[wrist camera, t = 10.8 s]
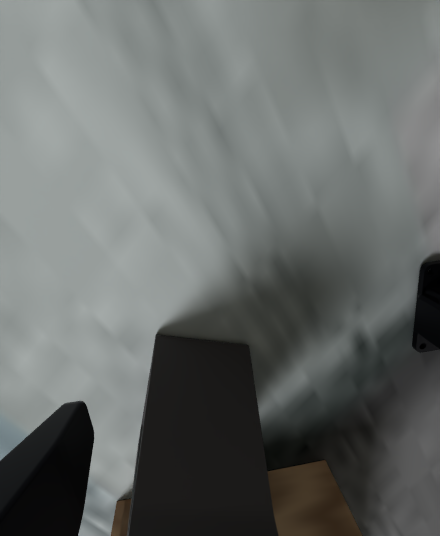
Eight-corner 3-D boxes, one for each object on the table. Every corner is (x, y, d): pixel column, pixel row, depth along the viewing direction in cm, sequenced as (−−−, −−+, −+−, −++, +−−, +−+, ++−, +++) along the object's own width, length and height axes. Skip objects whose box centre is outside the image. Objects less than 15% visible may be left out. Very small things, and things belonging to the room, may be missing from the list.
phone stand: (156, 331, 20) (129, 551, 9) (248, 342, 21) (328, 551, 10) (137, 444, 23) (98, 725, 11) (220, 448, 24) (258, 710, 13)
